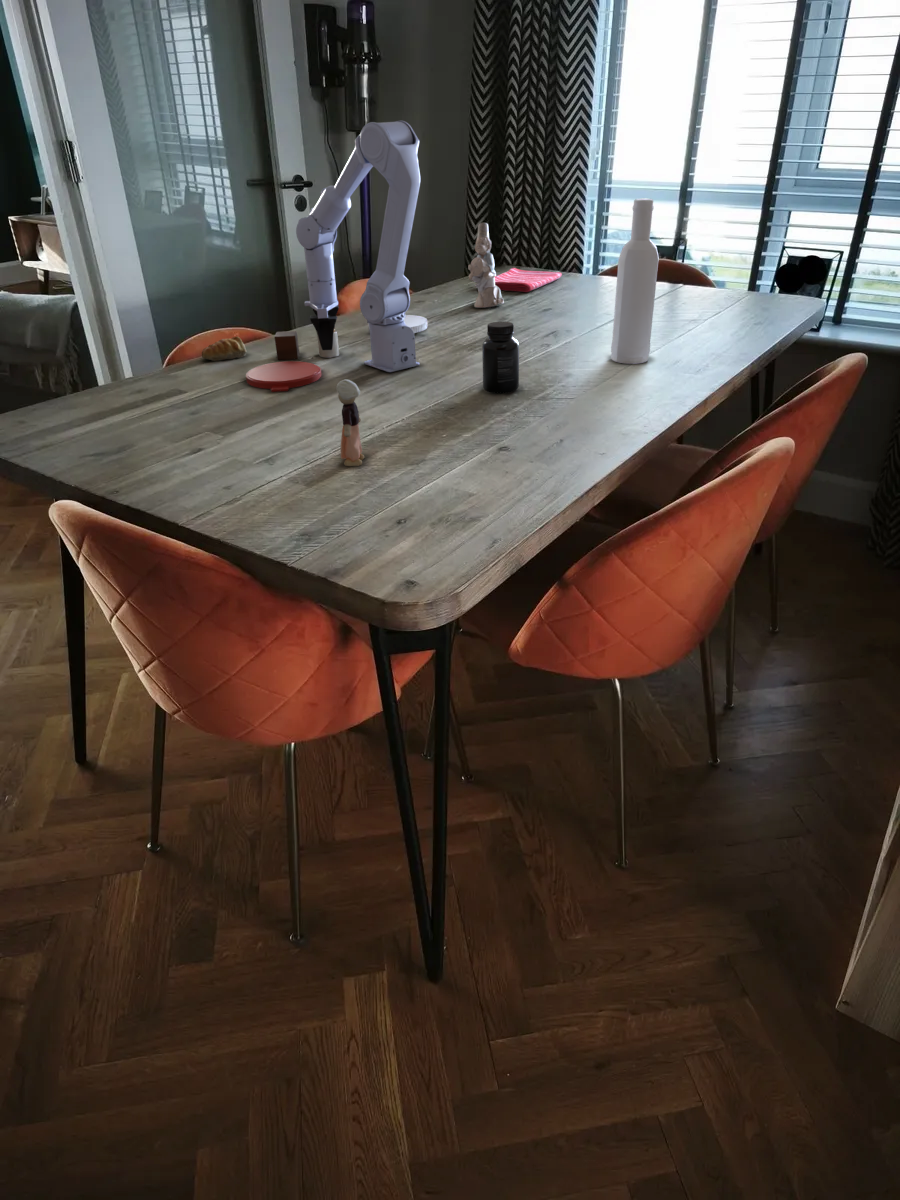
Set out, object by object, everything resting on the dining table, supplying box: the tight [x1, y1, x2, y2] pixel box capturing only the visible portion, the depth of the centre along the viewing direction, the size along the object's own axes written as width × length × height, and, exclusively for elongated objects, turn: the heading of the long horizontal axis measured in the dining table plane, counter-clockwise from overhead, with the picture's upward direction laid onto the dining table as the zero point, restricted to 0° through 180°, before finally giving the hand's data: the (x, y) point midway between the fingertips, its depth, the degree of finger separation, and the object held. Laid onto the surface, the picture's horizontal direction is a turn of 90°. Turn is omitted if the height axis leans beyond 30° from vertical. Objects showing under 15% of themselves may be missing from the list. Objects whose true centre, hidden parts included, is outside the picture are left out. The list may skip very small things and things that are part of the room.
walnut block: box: [274, 330, 300, 361], centre depth 175 cm, size 4×4×5 cm
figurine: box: [467, 222, 505, 309], centre depth 209 cm, size 9×8×20 cm
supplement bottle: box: [481, 321, 520, 395], centre depth 149 cm, size 7×7×12 cm
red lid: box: [245, 360, 322, 393], centre depth 161 cm, size 17×15×1 cm
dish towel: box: [495, 267, 563, 293], centre depth 237 cm, size 17×24×3 cm
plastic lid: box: [368, 314, 428, 334], centre depth 192 cm, size 14×14×2 cm
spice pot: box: [316, 327, 340, 359], centre depth 175 cm, size 4×4×6 cm
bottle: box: [610, 197, 660, 365], centre depth 159 cm, size 8×8×30 cm
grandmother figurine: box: [336, 379, 365, 467], centre depth 120 cm, size 8×4×13 cm, turn 5°
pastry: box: [201, 336, 247, 362], centre depth 176 cm, size 9×7×4 cm
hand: (328, 345), depth 175 cm, fingers open, 7 cm apart
